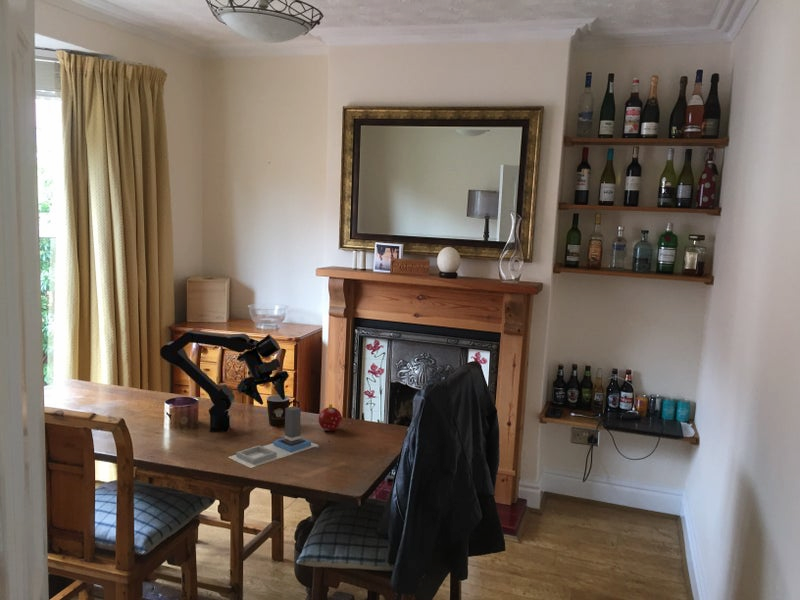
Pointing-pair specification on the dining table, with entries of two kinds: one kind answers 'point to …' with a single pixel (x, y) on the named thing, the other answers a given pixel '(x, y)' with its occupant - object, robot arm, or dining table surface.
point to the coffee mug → (278, 409)
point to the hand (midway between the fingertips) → (273, 401)
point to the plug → (292, 426)
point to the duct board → (269, 452)
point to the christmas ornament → (330, 418)
